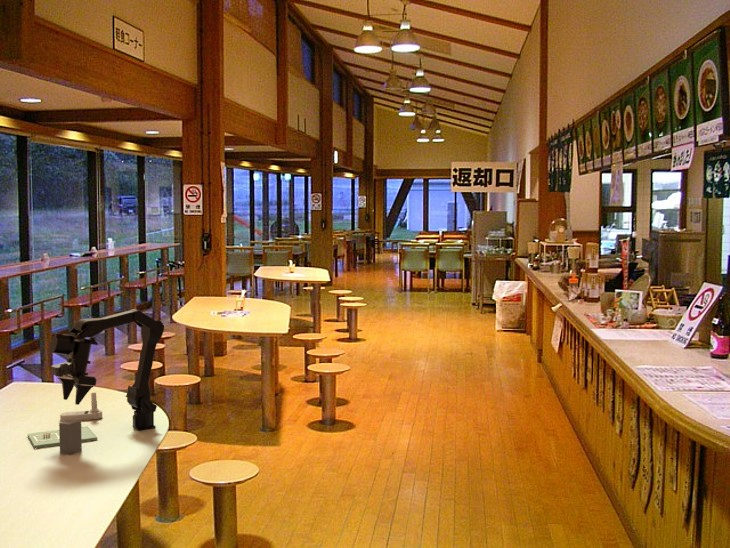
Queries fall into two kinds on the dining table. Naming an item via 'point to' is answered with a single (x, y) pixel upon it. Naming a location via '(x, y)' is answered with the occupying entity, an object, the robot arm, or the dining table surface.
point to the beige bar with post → (84, 412)
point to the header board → (57, 437)
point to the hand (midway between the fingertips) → (71, 402)
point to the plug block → (70, 437)
